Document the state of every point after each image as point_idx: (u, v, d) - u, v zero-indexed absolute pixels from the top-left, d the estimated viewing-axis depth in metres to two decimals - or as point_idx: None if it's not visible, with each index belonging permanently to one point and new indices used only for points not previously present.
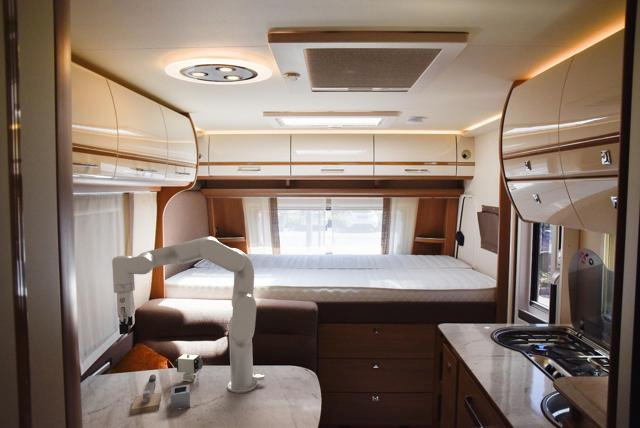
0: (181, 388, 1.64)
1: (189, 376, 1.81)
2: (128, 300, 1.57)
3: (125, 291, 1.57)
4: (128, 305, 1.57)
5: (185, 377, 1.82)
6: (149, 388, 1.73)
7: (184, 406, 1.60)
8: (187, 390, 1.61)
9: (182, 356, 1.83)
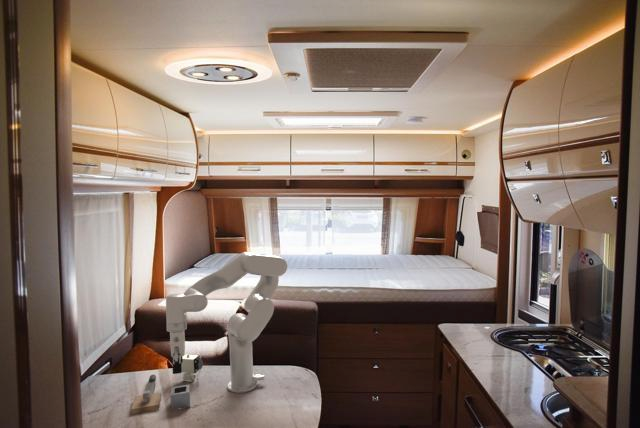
0: (181, 388, 1.64)
1: (189, 376, 1.81)
2: (182, 339, 1.57)
3: (179, 330, 1.57)
4: (182, 344, 1.57)
5: (185, 377, 1.82)
6: (149, 388, 1.73)
7: (184, 406, 1.60)
8: (187, 390, 1.61)
9: (182, 356, 1.83)
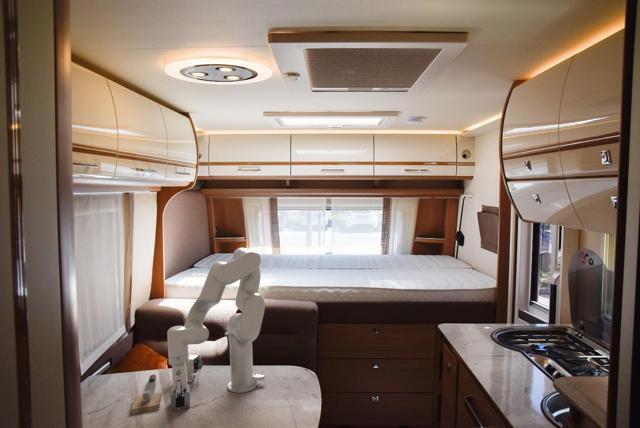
0: None
1: (189, 376, 1.81)
2: (184, 372, 1.58)
3: (181, 363, 1.58)
4: (184, 377, 1.58)
5: None
6: (149, 388, 1.73)
7: (184, 406, 1.60)
8: (187, 390, 1.61)
9: None
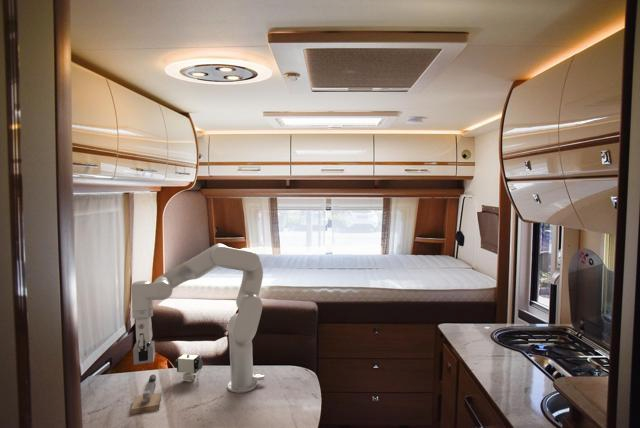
0: None
1: (189, 376, 1.81)
2: (147, 326, 1.57)
3: (144, 317, 1.57)
4: (147, 331, 1.57)
5: (185, 377, 1.82)
6: (149, 388, 1.73)
7: (147, 361, 1.59)
8: (151, 345, 1.60)
9: (182, 356, 1.83)
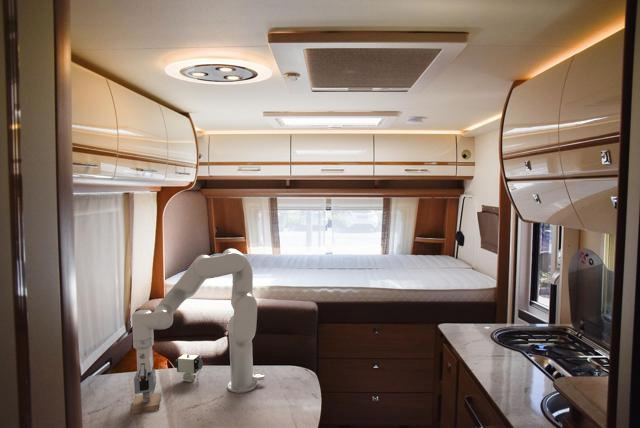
0: None
1: (189, 376, 1.81)
2: (148, 356, 1.58)
3: (145, 347, 1.58)
4: (148, 361, 1.57)
5: (185, 377, 1.82)
6: None
7: (148, 390, 1.59)
8: (152, 374, 1.61)
9: (182, 356, 1.83)
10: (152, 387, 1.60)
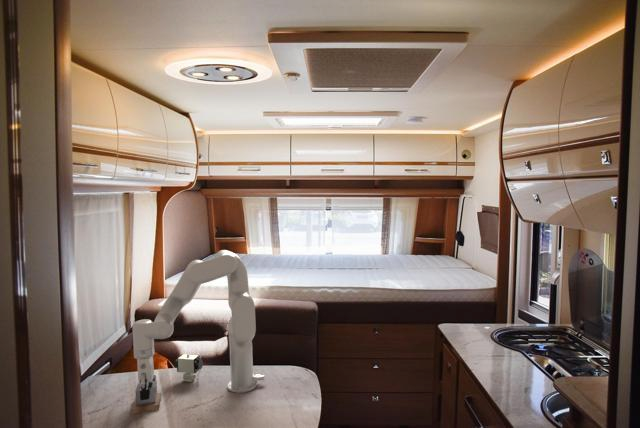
0: None
1: (189, 376, 1.81)
2: (149, 366, 1.58)
3: (145, 357, 1.58)
4: (149, 371, 1.58)
5: (185, 377, 1.82)
6: None
7: (149, 402, 1.60)
8: (153, 386, 1.61)
9: (182, 356, 1.83)
10: (153, 399, 1.60)
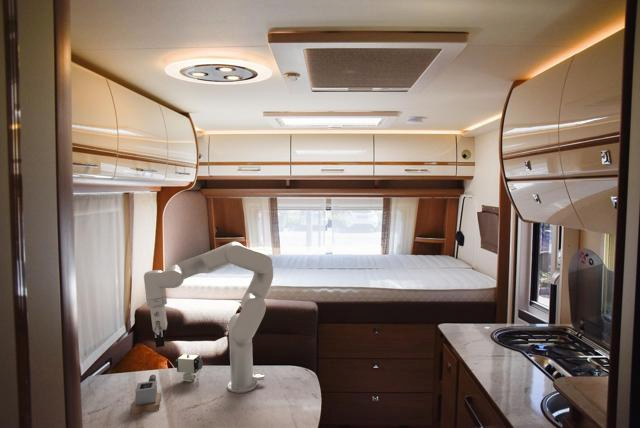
0: (147, 384, 1.64)
1: (189, 376, 1.81)
2: (162, 314, 1.61)
3: (158, 305, 1.61)
4: (162, 318, 1.61)
5: (185, 377, 1.82)
6: None
7: (149, 402, 1.60)
8: (153, 386, 1.61)
9: (182, 356, 1.83)
10: (153, 399, 1.60)
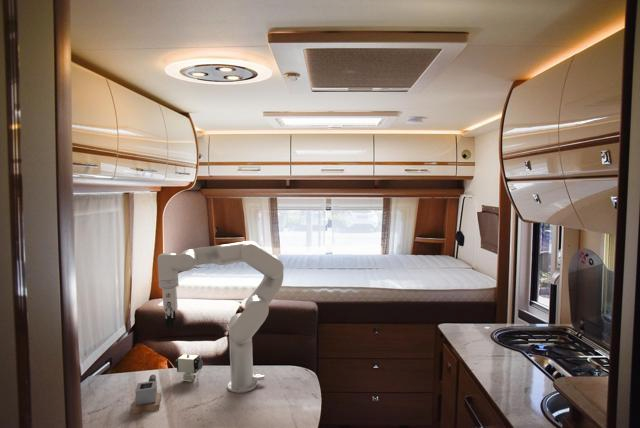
0: (147, 384, 1.64)
1: (189, 376, 1.81)
2: (173, 295, 1.64)
3: (170, 287, 1.64)
4: (173, 300, 1.64)
5: (185, 377, 1.82)
6: None
7: (149, 402, 1.60)
8: (153, 386, 1.61)
9: (182, 356, 1.83)
10: (153, 399, 1.60)
